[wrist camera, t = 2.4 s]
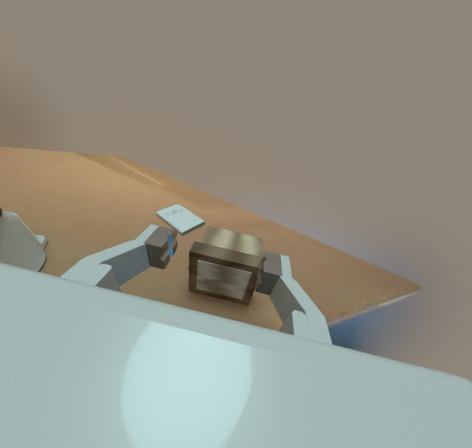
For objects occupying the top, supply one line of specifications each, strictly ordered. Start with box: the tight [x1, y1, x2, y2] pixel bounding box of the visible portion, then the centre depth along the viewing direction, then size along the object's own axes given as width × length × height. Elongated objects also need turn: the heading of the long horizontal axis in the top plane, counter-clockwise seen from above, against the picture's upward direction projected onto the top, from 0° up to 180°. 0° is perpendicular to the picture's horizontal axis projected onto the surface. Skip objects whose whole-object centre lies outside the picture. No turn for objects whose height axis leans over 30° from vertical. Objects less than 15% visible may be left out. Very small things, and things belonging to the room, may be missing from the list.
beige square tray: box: [188, 226, 262, 269], centre depth 44 cm, size 16×16×1 cm
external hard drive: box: [156, 204, 205, 235], centre depth 51 cm, size 2×8×12 cm
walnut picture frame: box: [189, 241, 261, 305], centre depth 31 cm, size 12×3×11 cm, turn 81°
